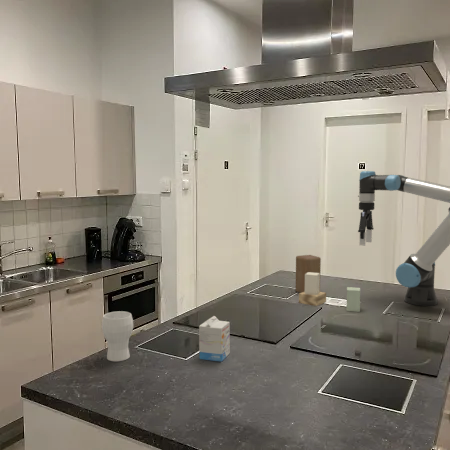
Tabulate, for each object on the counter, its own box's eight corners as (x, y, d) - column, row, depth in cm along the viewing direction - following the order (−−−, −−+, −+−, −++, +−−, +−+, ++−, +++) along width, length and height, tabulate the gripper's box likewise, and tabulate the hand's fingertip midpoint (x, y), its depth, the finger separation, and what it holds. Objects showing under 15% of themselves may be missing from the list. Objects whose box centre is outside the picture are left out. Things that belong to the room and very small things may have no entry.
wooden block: (294, 291, 254) (295, 255, 252) (309, 289, 259) (310, 254, 257) (305, 295, 245) (305, 258, 243) (320, 293, 250) (321, 257, 248)
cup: (133, 362, 156) (132, 318, 155) (101, 364, 155) (99, 320, 153) (134, 350, 167) (133, 310, 165) (104, 352, 165) (102, 311, 163)
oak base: (326, 302, 233) (326, 292, 233) (316, 306, 225) (317, 296, 225) (308, 299, 239) (308, 289, 239) (298, 303, 231) (298, 293, 231)
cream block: (319, 292, 233) (319, 273, 232) (316, 295, 227) (316, 275, 226) (307, 291, 235) (308, 272, 234) (304, 294, 230) (304, 274, 229)
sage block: (359, 308, 221) (360, 287, 220) (359, 311, 215) (360, 290, 214) (346, 307, 223) (346, 287, 222) (346, 310, 217) (346, 290, 216)
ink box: (221, 362, 156) (221, 323, 155) (198, 359, 159) (198, 321, 158) (230, 353, 164) (230, 316, 163) (208, 350, 167) (208, 314, 166)
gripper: (364, 200, 246) (363, 240, 248) (352, 202, 224) (351, 246, 226) (379, 201, 242) (378, 241, 244) (368, 203, 220) (367, 247, 223)
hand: (365, 243), depth 235 cm, fingers open, 13 cm apart
